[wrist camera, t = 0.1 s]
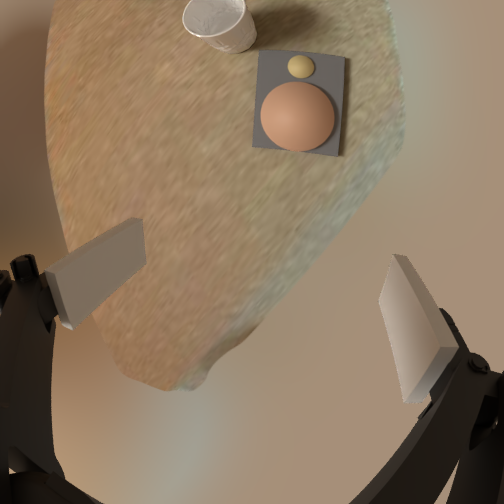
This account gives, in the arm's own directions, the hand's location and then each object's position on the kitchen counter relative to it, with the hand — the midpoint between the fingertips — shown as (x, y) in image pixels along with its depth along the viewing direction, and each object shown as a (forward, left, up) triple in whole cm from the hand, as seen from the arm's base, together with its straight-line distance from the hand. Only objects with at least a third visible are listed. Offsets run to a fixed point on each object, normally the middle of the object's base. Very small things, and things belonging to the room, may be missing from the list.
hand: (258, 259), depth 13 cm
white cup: (-22, -10, -28) cm, 37 cm away
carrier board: (-12, 0, -28) cm, 30 cm away
